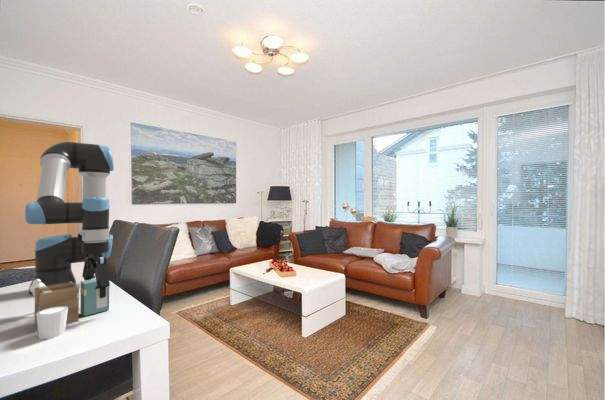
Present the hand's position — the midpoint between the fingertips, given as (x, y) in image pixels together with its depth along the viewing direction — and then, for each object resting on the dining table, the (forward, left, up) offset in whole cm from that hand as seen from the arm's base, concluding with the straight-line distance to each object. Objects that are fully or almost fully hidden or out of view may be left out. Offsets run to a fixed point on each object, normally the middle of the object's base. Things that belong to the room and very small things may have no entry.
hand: (95, 302), depth 94 cm
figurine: (-13, -12, -4) cm, 18 cm away
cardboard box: (0, -10, -3) cm, 11 cm away
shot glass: (+9, -13, -4) cm, 16 cm away
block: (0, 0, -3) cm, 3 cm away
